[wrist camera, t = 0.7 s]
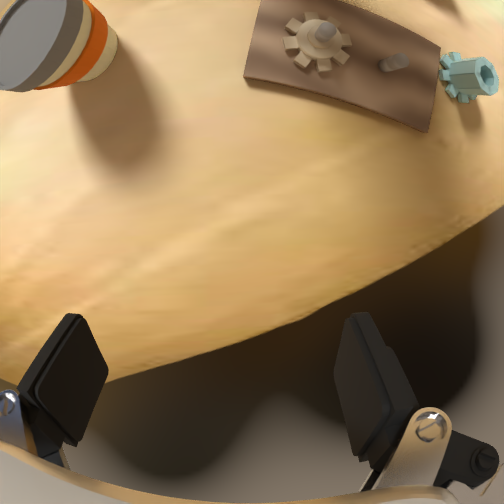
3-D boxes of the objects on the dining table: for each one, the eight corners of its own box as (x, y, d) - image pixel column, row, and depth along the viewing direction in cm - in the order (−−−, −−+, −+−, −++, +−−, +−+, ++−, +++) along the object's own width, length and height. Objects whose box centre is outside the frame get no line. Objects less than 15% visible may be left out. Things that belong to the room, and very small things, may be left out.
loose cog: (440, 43, 25) (468, 37, 19) (476, 68, 26) (505, 67, 19) (435, 88, 28) (465, 87, 22) (471, 111, 29) (501, 114, 23)
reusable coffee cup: (141, 11, 24) (88, -31, 11) (116, 95, 30) (46, 89, 16) (69, 18, 23) (6, -5, 9) (48, 93, 28) (-24, 97, 15)
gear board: (265, -13, 23) (268, -38, 17) (435, 49, 26) (463, 42, 19) (243, 77, 29) (241, 66, 23) (421, 132, 32) (451, 137, 25)
